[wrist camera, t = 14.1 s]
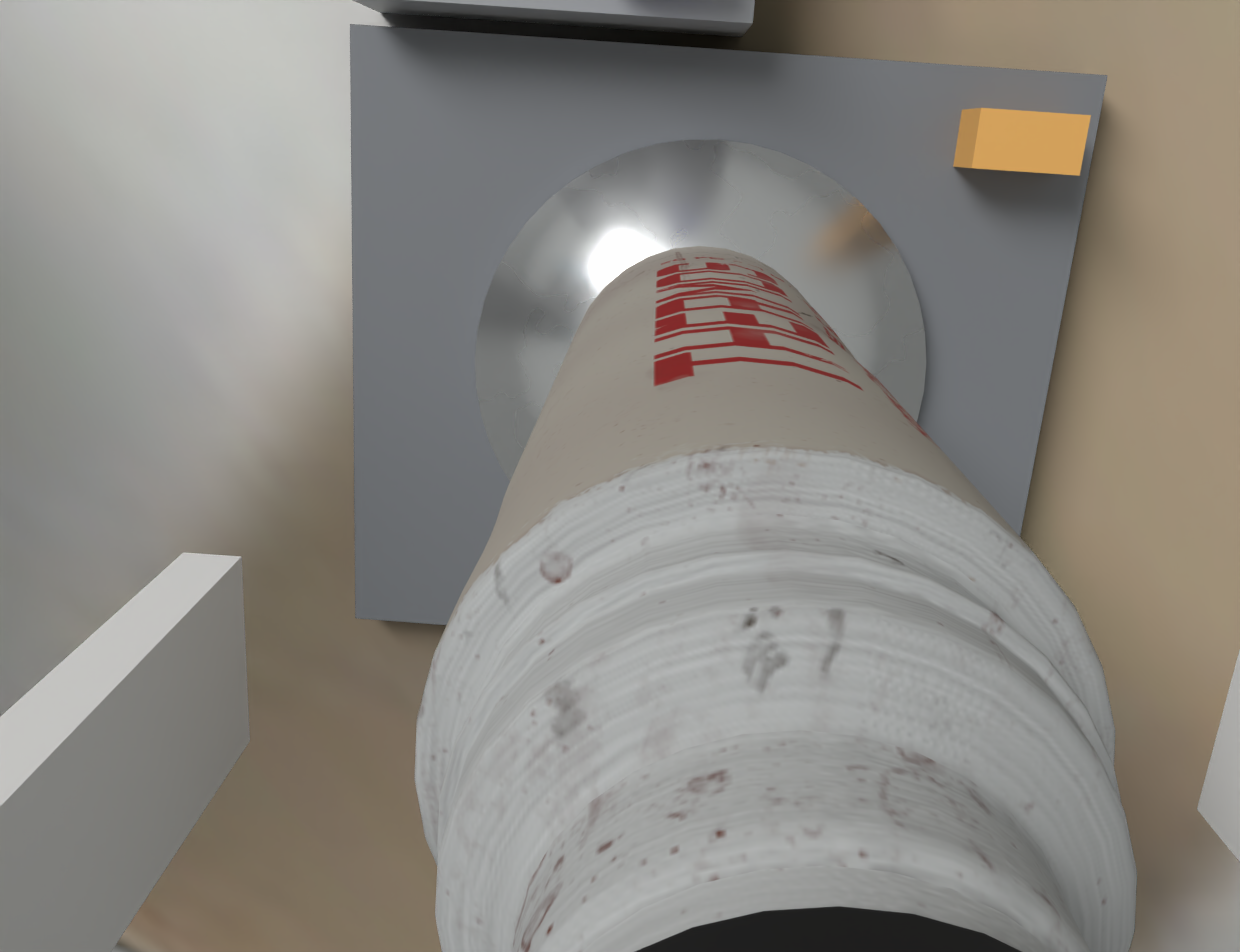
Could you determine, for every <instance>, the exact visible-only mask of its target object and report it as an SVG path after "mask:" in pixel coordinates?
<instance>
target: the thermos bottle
mask: <svg viewBox="0 0 1240 952" xmlns="http://www.w3.org/2000/svg"><path fill="white" fill-rule="evenodd" d="M1114 751H1115V727H1114V722H1113V717H1112V712H1111V707H1110V702H1109V697H1108V692H1107V687H1106V682H1105V677H1104V672H1103V667H1102V665H1101V662H1100V660H1099V658H1098V656H1097V654H1096V651H1095V649H1094V647H1093V645H1092V643H1091V641H1090V638H1089V636H1088V634H1087V632H1086V630H1085V627H1084V625H1083V623H1082V621H1081V619H1080V617H1079V614H1078V612H1077V610H1076V608H1075V606H1074V605H1073V603H1072V602H1071V601H1070V599H1069V598H1068V597H1067V596H1066V594H1065V593H1064V592H1063V590H1062V589H1061V588H1060V586H1059V585H1058V584H1057V583H1056V581H1055V580H1054V579H1053V577H1052V576H1051V575H1050V573H1049V572H1048V571H1047V570H1046V568H1045V567H1044V566H1043V564H1042V563H1041V562H1040V560H1039V559H1038V558H1037V557H1036V555H1035V554H1034V553H1033V551H1032V550H1031V549H1030V548H1029V547H1028V545H1027V544H1026V543H1025V542H1024V541H1023V540H1022V539H1021V538H1020V537H1019V535H1018V534H1017V533H1016V532H1015V531H1014V530H1013V529H1012V528H1011V527H1010V526H1009V524H1008V523H1007V522H1006V521H1005V520H1004V519H1003V518H1002V517H1001V516H1000V514H999V513H998V512H997V511H996V510H995V509H994V508H993V507H992V506H991V504H990V503H989V502H988V501H987V500H986V499H985V498H984V497H983V496H982V494H981V493H980V492H979V491H978V490H977V489H976V488H975V487H974V486H973V484H972V483H971V482H970V481H969V480H968V479H967V478H966V477H965V476H964V474H963V473H962V472H961V471H960V470H959V469H958V468H957V467H956V466H955V464H954V463H953V462H952V461H951V460H950V459H949V458H948V457H947V456H946V454H945V453H944V452H943V451H942V450H941V449H940V448H939V447H938V446H937V445H936V443H935V442H934V441H933V440H932V439H931V438H930V437H929V436H928V435H927V433H926V432H925V431H924V430H923V429H922V428H921V427H920V426H919V425H918V423H917V422H916V421H915V420H914V419H913V418H912V417H911V416H910V415H909V413H908V412H907V411H906V410H905V409H904V408H903V407H902V406H901V405H900V403H899V402H898V401H897V400H896V399H895V398H894V397H893V396H892V395H891V393H890V392H889V391H888V390H887V389H886V388H885V387H884V386H883V385H882V384H881V382H880V381H879V380H878V379H877V378H876V377H875V376H873V375H872V374H871V373H870V372H869V371H868V370H867V369H865V368H864V367H863V366H862V365H861V364H860V363H858V362H857V360H856V359H855V357H854V356H853V355H852V353H851V352H850V351H849V350H848V348H847V347H846V346H845V344H844V343H843V342H842V341H841V339H840V338H839V337H838V335H837V334H836V333H835V332H834V330H833V329H832V328H831V327H830V326H829V325H828V324H827V322H826V321H825V320H824V319H823V318H822V317H821V316H820V315H819V314H818V313H817V311H816V310H815V309H814V308H813V307H812V306H811V305H810V304H809V303H808V302H807V300H806V299H805V298H804V297H803V296H802V295H801V293H800V292H799V291H798V290H797V289H796V288H795V287H794V286H793V285H792V284H791V283H790V282H788V281H787V280H786V279H785V278H784V277H783V276H781V275H780V274H779V273H778V272H777V271H776V270H774V269H773V268H771V267H770V266H768V265H766V264H764V263H762V262H760V261H759V260H757V259H755V258H753V257H751V256H749V255H745V254H742V253H739V252H736V251H732V250H729V249H726V248H717V247H706V246H693V247H683V248H674V249H670V250H667V251H664V252H661V253H657V254H654V255H651V256H648V257H646V258H644V259H643V260H641V261H639V262H637V263H635V264H633V265H632V266H630V267H628V268H626V269H625V270H624V271H622V272H621V273H620V274H619V275H618V276H616V277H615V278H614V279H613V280H612V281H610V282H609V283H608V284H607V285H606V286H605V287H604V288H603V289H602V291H601V292H600V293H599V294H598V296H597V297H596V298H595V299H594V301H593V302H592V303H591V304H590V306H589V308H588V310H587V311H586V313H585V315H584V317H583V319H582V321H581V323H580V325H579V327H578V329H577V331H576V333H575V336H574V338H573V340H572V342H571V345H570V347H569V349H568V352H567V354H566V356H565V358H564V361H563V363H562V365H561V367H560V370H559V372H558V374H557V376H556V379H555V381H554V383H553V385H552V388H551V390H550V392H549V395H548V397H547V399H546V401H545V404H544V406H543V408H542V410H541V413H540V415H539V417H538V419H537V422H536V424H535V426H534V429H533V431H532V433H531V435H530V438H529V440H528V442H527V444H526V447H525V449H524V451H523V453H522V456H521V458H520V460H519V462H518V465H517V467H516V469H515V472H514V474H513V476H512V478H511V481H510V483H509V485H508V488H507V491H506V493H505V496H504V499H503V502H502V505H501V508H500V511H499V514H498V517H497V520H496V523H495V526H494V528H493V531H492V533H491V536H490V538H489V540H488V542H487V545H486V547H485V549H484V551H483V553H482V555H481V557H480V559H479V561H478V563H477V564H476V566H475V568H474V570H473V572H472V574H471V576H470V578H469V580H468V582H467V583H466V585H465V587H464V589H463V591H462V593H461V595H460V597H459V599H458V601H457V604H456V606H455V608H454V610H453V612H452V614H451V617H450V619H449V621H448V623H447V626H446V628H445V630H444V632H443V635H442V637H441V639H440V641H439V644H438V646H437V648H436V651H435V653H434V656H433V660H432V663H431V667H430V671H429V675H428V678H427V682H426V686H425V689H424V693H423V697H422V701H421V704H420V708H419V712H418V715H417V730H416V755H415V784H416V790H417V795H418V800H419V806H420V811H421V817H422V822H423V827H424V833H425V838H426V840H427V843H428V845H429V847H430V850H431V852H432V855H433V857H434V859H435V862H436V864H437V866H438V868H437V888H436V909H435V917H436V923H437V928H438V933H439V939H440V944H441V950H442V952H1129V949H1130V945H1131V942H1132V938H1133V935H1134V931H1135V909H1136V887H1137V870H1136V865H1135V860H1134V855H1133V850H1132V845H1131V840H1130V835H1129V830H1128V825H1127V820H1126V815H1125V812H1124V809H1123V807H1122V804H1121V799H1120V794H1119V789H1118V785H1117V780H1116V775H1115V770H1114Z"/></svg>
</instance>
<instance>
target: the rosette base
mask: <svg viewBox="0 0 1240 952" xmlns="http://www.w3.org/2000/svg"><path fill="white" fill-rule="evenodd" d="M350 72H351V181H352V291H353V400H354V509H355V618H360V619H373V620H386V621H399V622H412V623H425V624H439V625H447V623H448V621H449V619H450V617H451V614H452V612H453V610H454V608H455V606H456V604H457V601H458V599H459V597H460V595H461V593H462V591H463V589H464V587H465V585H466V583H467V582H468V580H469V578H470V576H471V574H472V572H473V570H474V568H475V566H476V564H477V563H478V561H479V559H480V557H481V555H482V553H483V551H484V549H485V547H486V545H487V542H488V540H489V538H490V536H491V533H492V531H493V528H494V526H495V523H496V520H497V517H498V514H499V511H500V508H501V505H502V502H503V499H504V496H505V493H506V491H507V488H508V485H509V483H510V481H511V478H512V476H513V474H514V472H515V469H516V467H517V465H518V462H519V460H520V458H521V456H522V453H523V451H524V449H525V447H526V444H527V442H528V440H529V438H530V435H531V433H532V431H533V429H534V426H535V424H536V422H537V419H538V417H539V415H540V413H541V410H542V408H543V406H544V404H545V401H546V399H547V397H548V395H549V392H550V390H551V388H552V385H553V383H554V381H555V379H556V376H557V374H558V372H559V370H560V367H561V365H562V363H563V361H564V358H565V356H566V354H567V352H568V349H569V347H570V345H571V342H572V340H573V338H574V336H575V333H576V331H577V329H578V327H579V325H580V323H581V321H582V319H583V317H584V315H585V313H586V311H587V310H588V308H589V306H590V304H591V303H592V302H593V301H594V299H595V298H596V297H597V296H598V294H599V293H600V292H601V291H602V289H603V288H604V287H605V286H606V285H607V284H608V283H609V282H610V281H612V280H613V279H614V278H615V277H616V276H618V275H619V274H620V273H621V272H622V271H624V270H625V269H626V268H628V267H630V266H632V265H633V264H635V263H637V262H639V261H641V260H643V259H644V258H646V257H648V256H651V255H654V254H657V253H661V252H664V251H667V250H670V249H674V248H683V247H693V246H706V247H717V248H726V249H729V250H732V251H736V252H739V253H742V254H745V255H749V256H751V257H753V258H755V259H757V260H759V261H760V262H762V263H764V264H766V265H768V266H770V267H771V268H773V269H774V270H776V271H777V272H778V273H779V274H780V275H781V276H783V277H784V278H785V279H786V280H787V281H788V282H790V283H791V284H792V285H793V286H794V287H795V288H796V289H797V290H798V291H799V292H800V293H801V295H802V296H803V297H804V298H805V299H806V300H807V302H808V303H809V304H810V305H811V306H812V307H813V308H814V309H815V310H816V311H817V313H818V314H819V315H820V316H821V317H822V318H823V319H824V320H825V321H826V322H827V324H828V325H829V326H830V327H831V328H832V329H833V330H834V332H835V333H836V334H837V335H838V337H839V338H840V339H841V341H842V342H843V343H844V344H845V346H846V347H847V348H848V350H849V351H850V352H851V353H852V355H853V356H854V357H855V359H856V360H857V362H858V363H860V364H861V365H862V366H863V367H864V368H865V369H867V370H868V371H869V372H870V373H871V374H872V375H873V376H875V377H876V378H877V379H878V380H879V381H880V382H881V384H882V385H883V386H884V387H885V388H886V389H887V390H888V391H889V392H890V393H891V395H892V396H893V397H894V398H895V399H896V400H897V401H898V402H899V403H900V405H901V406H902V407H903V408H904V409H905V410H906V411H907V412H908V413H909V415H910V416H911V417H912V418H913V419H914V420H915V421H916V422H917V423H918V425H919V426H920V427H921V428H922V429H923V430H924V431H925V432H926V433H927V435H928V436H929V437H930V438H931V439H932V440H933V441H934V442H935V443H936V445H937V446H938V447H939V448H940V449H941V450H942V451H943V452H944V453H945V454H946V456H947V457H948V458H949V459H950V460H951V461H952V462H953V463H954V464H955V466H956V467H957V468H958V469H959V470H960V471H961V472H962V473H963V474H964V476H965V477H966V478H967V479H968V480H969V481H970V482H971V483H972V484H973V486H974V487H975V488H976V489H977V490H978V491H979V492H980V493H981V494H982V496H983V497H984V498H985V499H986V500H987V501H988V502H989V503H990V504H991V506H992V507H993V508H994V509H995V510H996V511H997V512H998V513H999V514H1000V516H1001V517H1002V518H1003V519H1004V520H1005V521H1006V522H1007V523H1008V524H1009V526H1010V527H1011V528H1012V529H1013V530H1014V531H1015V532H1016V533H1017V534H1018V535H1019V537H1020V534H1021V528H1022V523H1023V518H1024V513H1025V507H1026V502H1027V497H1028V492H1029V486H1030V481H1031V476H1032V470H1033V465H1034V460H1035V455H1036V449H1037V444H1038V439H1039V434H1040V428H1041V423H1042V418H1043V413H1044V407H1045V402H1046V397H1047V391H1048V386H1049V381H1050V376H1051V370H1052V365H1053V360H1054V355H1055V349H1056V344H1057V339H1058V333H1059V328H1060V323H1061V318H1062V312H1063V307H1064V302H1065V297H1066V291H1067V286H1068V281H1069V276H1070V270H1071V265H1072V260H1073V254H1074V249H1075V244H1076V239H1077V233H1078V228H1079V223H1080V218H1081V212H1082V207H1083V202H1084V197H1085V191H1086V186H1087V181H1088V175H1089V170H1090V165H1091V160H1092V154H1093V149H1094V144H1095V139H1096V133H1097V128H1098V123H1099V117H1100V112H1101V107H1102V102H1103V96H1104V91H1105V86H1106V81H1107V75H1095V74H1080V73H1066V72H1051V71H1036V70H1021V69H1006V68H992V67H977V66H962V65H947V64H932V63H918V62H903V61H888V60H873V59H858V58H844V57H829V56H814V55H799V54H784V53H770V52H755V51H740V50H725V49H710V48H696V47H681V46H666V45H651V44H636V43H622V42H607V41H592V40H577V39H562V38H548V37H533V36H518V35H503V34H489V33H474V32H459V31H444V30H429V29H415V28H400V27H385V26H370V25H355V24H350Z"/></svg>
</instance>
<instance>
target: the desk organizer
mask: <svg viewBox="0 0 1240 952" xmlns="http://www.w3.org/2000/svg"><path fill="white" fill-rule="evenodd" d="M353 1H355V2H358V3H360V4H362V5H364V6H367V7H369V8H371V9H373V10H375V11H378V12H380V13H394V14H409V15H423V16H438V17H453V18H468V19H483V20H498V21H512V22H527V23H542V24H557V25H572V26H587V27H602V28H616V29H631V30H646V31H661V32H676V33H691V34H705V35H720V36H735V37H742V36H743V35H744V34H745V32H746V31H747V30H748V29H749V27H750V26H751V25H752V24H753V15H754V5H755V0H353Z"/></svg>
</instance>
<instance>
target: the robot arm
mask: <svg viewBox="0 0 1240 952" xmlns="http://www.w3.org/2000/svg"><path fill="white" fill-rule="evenodd" d="M249 742H250V732H249V710H248V688H247V666H246V644H245V622H244V599H243V577H242V557H240V556H226V555H212V554H198V553H184V552H183V553H182V554H181V555H180V556H179V557H178V558H177V559H175V560H174V561H173V562H172V563H171V564H170V565H169V566H168V567H167V568H165V569H164V570H163V571H162V572H161V573H160V574H159V575H158V576H156V577H155V578H154V579H153V580H152V581H151V582H150V583H149V584H148V585H146V586H145V587H144V588H143V589H142V590H141V591H140V592H139V593H138V594H136V595H135V596H134V597H133V598H132V599H131V600H130V601H129V602H128V603H126V604H125V605H124V606H123V607H122V608H121V609H120V610H119V611H117V612H116V613H115V614H114V615H113V616H112V617H111V618H110V619H109V620H107V621H106V622H105V623H104V624H103V625H102V626H101V627H100V628H99V629H97V630H96V631H95V632H94V633H93V634H92V635H91V636H90V637H89V638H87V639H86V640H85V641H84V642H83V643H82V644H81V645H80V646H78V647H77V648H76V649H75V650H74V651H73V652H72V653H71V654H70V655H68V656H67V657H66V658H65V659H64V660H63V661H62V662H61V663H60V664H58V665H57V666H56V667H55V668H54V669H53V670H52V671H51V672H50V673H48V674H47V675H46V676H45V677H44V678H43V679H42V680H41V681H39V682H38V683H37V684H36V685H35V686H34V687H33V688H32V689H31V690H29V691H28V692H27V693H26V694H25V695H24V696H23V697H22V698H21V699H19V700H18V701H17V702H16V703H15V704H14V705H13V706H12V707H11V708H9V709H8V710H7V711H6V712H5V713H4V714H3V715H2V716H0V952H111V951H112V950H113V948H114V947H115V945H116V944H117V942H118V940H119V939H120V937H121V936H122V934H123V933H124V931H125V930H126V928H127V927H128V925H129V924H130V922H131V921H132V919H133V918H134V916H135V915H136V913H137V912H138V910H139V909H140V907H141V906H142V904H143V903H144V901H145V900H146V898H147V896H148V895H149V893H150V892H151V890H152V889H153V887H154V886H155V884H156V883H157V881H158V880H159V878H160V877H161V875H162V874H163V872H164V871H165V869H166V868H167V866H168V865H169V863H170V862H171V860H172V859H173V857H174V855H175V854H176V852H177V851H178V849H179V848H180V846H181V845H182V843H183V842H184V840H185V839H186V837H187V836H188V834H189V833H190V831H191V830H192V828H193V827H194V825H195V824H196V822H197V821H198V819H199V818H200V816H201V814H202V813H203V811H204V810H205V808H206V807H207V805H208V804H209V802H210V801H211V799H212V798H213V796H214V795H215V793H216V792H217V790H218V789H219V787H220V786H221V784H222V783H223V781H224V780H225V778H226V777H227V775H228V773H229V772H230V770H231V769H232V767H233V766H234V764H235V763H236V761H237V760H238V758H239V757H240V755H241V754H242V752H243V751H244V749H245V748H246V746H247V745H248V743H249ZM1197 810H1198V811H1199V812H1200V814H1201V815H1202V816H1203V817H1204V819H1205V820H1206V821H1207V822H1208V823H1209V825H1210V826H1211V827H1212V828H1213V830H1214V831H1215V832H1216V833H1217V835H1218V836H1219V837H1220V838H1221V840H1222V841H1223V842H1224V843H1225V844H1226V846H1227V847H1228V848H1229V849H1230V851H1231V852H1232V853H1233V854H1234V856H1235V857H1236V858H1237V859H1238V860H1239V862H1240V651H1239V654H1238V658H1237V662H1236V665H1235V669H1234V673H1233V677H1232V680H1231V684H1230V688H1229V692H1228V695H1227V699H1226V703H1225V707H1224V710H1223V714H1222V718H1221V721H1220V725H1219V729H1218V733H1217V736H1216V740H1215V744H1214V748H1213V751H1212V755H1211V759H1210V763H1209V766H1208V770H1207V774H1206V778H1205V781H1204V785H1203V789H1202V792H1201V796H1200V800H1199V804H1198V807H1197Z"/></svg>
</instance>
